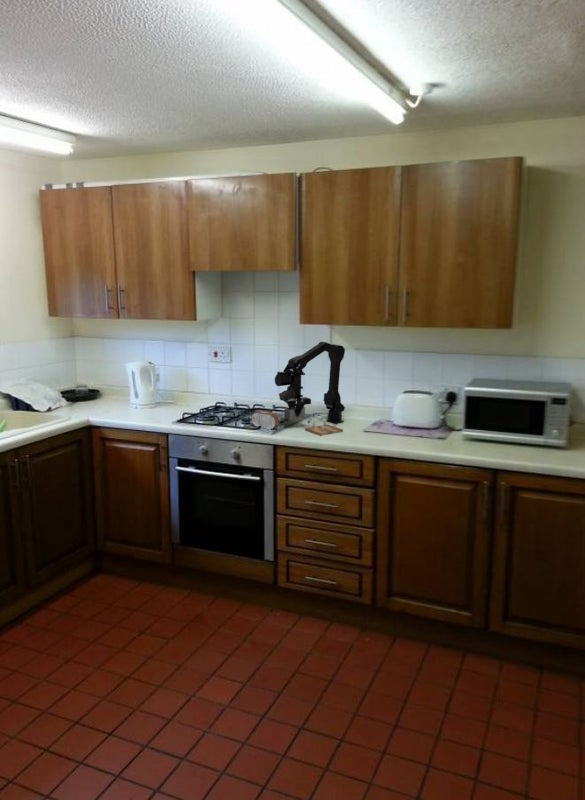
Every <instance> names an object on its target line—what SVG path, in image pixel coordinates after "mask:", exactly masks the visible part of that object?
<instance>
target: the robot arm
mask: <svg viewBox="0 0 585 800" xmlns="http://www.w3.org/2000/svg"><path fill="white" fill-rule="evenodd" d="M324 352H326V353H327V356H328V358H329V359H328V360H329V362H330V367H329V368H330V369H329V378H328V379H329V380H328V390H327V391H326V392H325V393H323V402H324V405H325V406H326V410H328V413H327V420H325V421H326V423H330V424H331V423H332V424H339V423H344V420H342V417H343V415H342V413H343V412H344V411H345V408H346V407H345V405H344V404H343V403H342V400H341V394H340V392H339V385H340V373H341V372H340V371H341V363H342V361H343V360H344V357H345V352H346V349H345V347H344V346H343V345H341V344H334V343H332V344H331V343H329V342H326V341H319V343H318V344H316V345H315V346H313V347H312V348H310V349H309V350H307V351H305V352H304V353H303V354H299V355H297V356H294V357H291V358H290V359H289V360H288V362H287V364H286V366H285V368H284V369H283V371H277V374H275V376H274V384H275V385H276V386H277V387H283V386H287V388H286V389H285V390H283V391H281V392H279V394H278V396H279V400H280V401H283V402H284V403H286V405H287V406H288V407H287V408H291V407H296V417H299V415H300V413H301V411H302V409H303V407H305V405H312V399H311V398H309V397H306V396H303V394H302V390H303V389H304V387H303V386H302V376H306V373H305V372H304V371H303V370H304V369H305V368H306V366H307V365H308V363H309V362H311V361H312V360H314V359H315V358H316V357H318V356H320V355H321V354H322V353H324Z"/></svg>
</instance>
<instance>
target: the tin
mask: <svg viewBox="0 0 585 800" xmlns="http://www.w3.org/2000/svg"><path fill="white" fill-rule="evenodd" d="M250 417H251V420H250V421H251V423H252V425H253V426H254V427H256V426H261V427H265V428H275V429H277V428H278V427H279V426H280V419H279V416H278V414H276V413H275V412H272V411H267V410H261V409H258V410H256V411H254V412H253V413H252V414H251V416H250ZM276 427H277V428H276Z"/></svg>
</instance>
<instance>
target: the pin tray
mask: <svg viewBox="0 0 585 800" xmlns="http://www.w3.org/2000/svg"><path fill="white" fill-rule="evenodd" d="M336 424H337V423H332V425H330V424H327V421H326V420H323V424H321V425H316V423H315V422H312V424H311V425H312V426H310V427H308V426H307V427H304V431H305V432H309V433H312V434H314V435H317V436H320V437H321V436H325V435H326V436H328V435H332V434H336V433H337V434H338V433H343V432H344V429H343V428H340V427H337V426H336Z"/></svg>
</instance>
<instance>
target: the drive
mask: <svg viewBox="0 0 585 800" xmlns="http://www.w3.org/2000/svg"><path fill="white" fill-rule="evenodd" d="M283 417H284V419H285V420H288V421H292V420H296V419H297V420H298V419H302V418H305V417H306V407H305V406H304V407H303V409H302V411H301V413H300V415H299V417H296V406H295V407H291V408H289V407H285V408H284V416H283Z"/></svg>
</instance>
